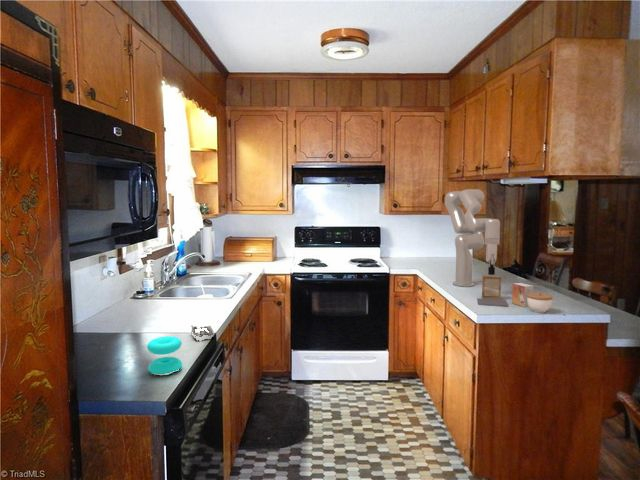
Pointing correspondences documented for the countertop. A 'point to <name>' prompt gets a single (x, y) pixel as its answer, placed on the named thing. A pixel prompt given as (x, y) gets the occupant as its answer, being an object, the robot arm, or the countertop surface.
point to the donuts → (163, 347)
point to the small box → (521, 294)
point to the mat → (492, 302)
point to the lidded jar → (539, 302)
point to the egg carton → (203, 331)
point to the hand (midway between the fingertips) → (491, 274)
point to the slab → (491, 287)
